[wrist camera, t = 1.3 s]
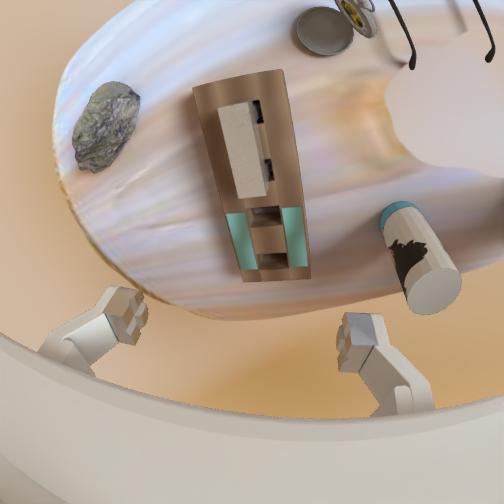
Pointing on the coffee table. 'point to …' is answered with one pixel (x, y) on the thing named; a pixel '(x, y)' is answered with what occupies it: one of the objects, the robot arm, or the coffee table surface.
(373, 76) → the coffee table surface
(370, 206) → the coffee table surface
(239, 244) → the slotted brown block
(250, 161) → the tall white block
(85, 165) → the mineral rock
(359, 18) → the pocket watch
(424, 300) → the cup
